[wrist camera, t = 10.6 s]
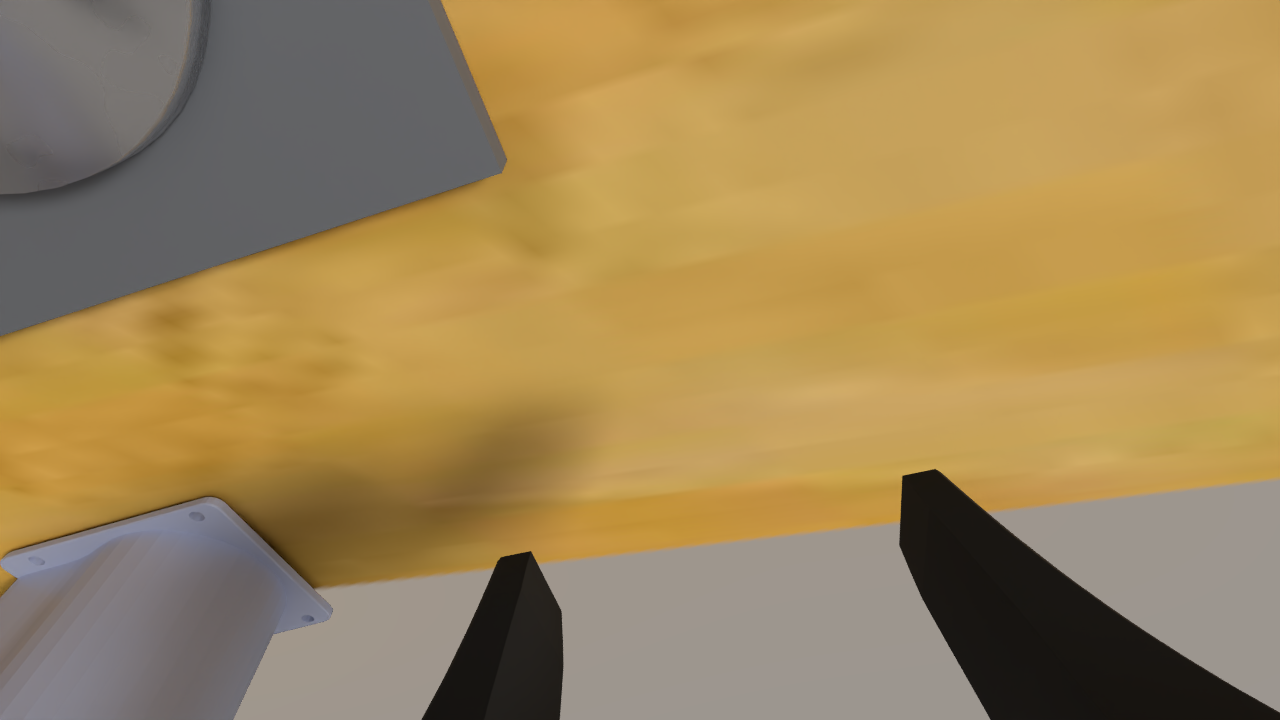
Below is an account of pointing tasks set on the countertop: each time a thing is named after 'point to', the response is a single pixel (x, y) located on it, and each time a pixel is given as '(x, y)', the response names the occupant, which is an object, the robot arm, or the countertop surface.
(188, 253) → the dial panel
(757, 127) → the countertop surface
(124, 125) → the dial
